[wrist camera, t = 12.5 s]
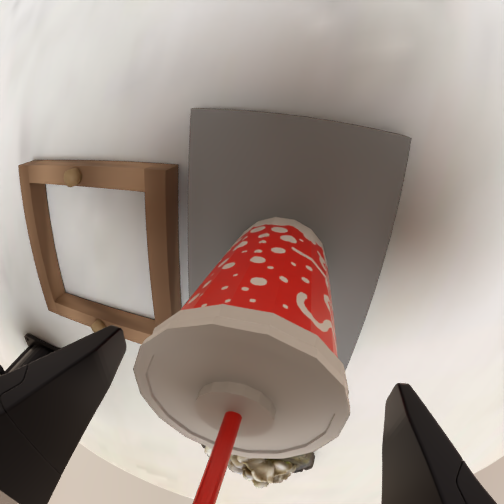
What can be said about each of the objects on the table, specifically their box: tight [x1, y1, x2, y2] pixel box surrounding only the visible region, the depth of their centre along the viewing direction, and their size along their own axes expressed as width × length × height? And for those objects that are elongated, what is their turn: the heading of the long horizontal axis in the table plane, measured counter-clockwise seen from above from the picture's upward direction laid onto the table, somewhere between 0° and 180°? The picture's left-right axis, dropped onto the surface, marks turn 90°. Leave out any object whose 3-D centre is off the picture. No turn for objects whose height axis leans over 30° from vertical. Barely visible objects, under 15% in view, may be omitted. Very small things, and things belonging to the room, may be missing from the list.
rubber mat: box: [188, 108, 411, 370], centre depth 16 cm, size 10×14×1 cm
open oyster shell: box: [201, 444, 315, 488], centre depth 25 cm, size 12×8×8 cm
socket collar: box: [18, 160, 181, 344], centre depth 18 cm, size 12×12×2 cm
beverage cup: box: [133, 217, 350, 504], centre depth 9 cm, size 6×6×14 cm
